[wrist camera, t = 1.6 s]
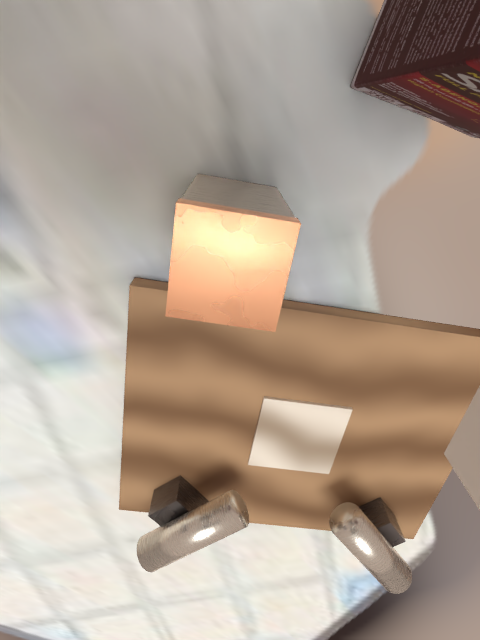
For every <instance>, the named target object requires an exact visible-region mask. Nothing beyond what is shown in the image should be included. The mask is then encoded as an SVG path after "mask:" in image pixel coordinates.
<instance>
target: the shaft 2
mask: <svg viewBox="0 0 480 640" xmlns="http://www.w3.org/2000/svg"><path fill="white" fill-rule="evenodd" d="M329 525H330V529H331V531H332V532H333V533H334V534H335V536H336V537H337V538H338V539H339V540H340V541H341V542H342V543H343V544H344V545H345V546H346V547H347V548H348V549H349V550H350V552H351V553H352V554H353V555H354V556H355V557H356V558H357V559H358V560H359V561H360V562H361V563H362V564H363V565H364V566H365V568H366V569H367V570H368V571H369V572H370V573H371V574H372V575H373V576H374V577H375V578H376V579H377V580H378V581H379V582H380V583H381V585H382V586H383V587H384V588H385V589H386V590H387V591H389V592H391V593H394V594H399V593H403V592H404V591H406V590H407V589H408V588H409V586H410V584H411V581H412V572H411V569H410V567H409V566H408V564H407V563H406V562H405V561H404V560H403V558H402V557H401V556H400V555H399V554H398V553H397V551H396V550H395V549H394V548H393V547H394V546H396V545H398V544H401V543H403V542H406V541H405V539H404V536H403V534H402V531H401V529H400V526H399V524H398V522H397V519H396V517H395V515H394V513H393V512H392V511H391V510H390V508H389V507H388V506H387V505H386V503H385V502H384V501H383V500H382V498H381V497H379V498H376V499H374V500H372V501H370V502H368V503H366V504H363V505H361V506H359V507H358V506H357V505H356V504H354V503H350V502H346V503H342V504H340V505H338V506H337V507H336V508H335V509H334V510H333V512H332V513H331V516H330V520H329Z"/></svg>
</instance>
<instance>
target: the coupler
mask: <svg viewBox="0 0 480 640" xmlns="http://www.w3.org/2000/svg"><path fill="white" fill-rule="evenodd" d="M300 225H301V223H300V221H299V220H298V218H295V216H294V215H293V213H292V212H291V210H290V208H289V207H288V205H287V203H286V202H285V200H284V199H283V197H282V195H281V194H280V192H279V190H278V189H277V187H273V186H267V185H261V184H255V183H250V182H244V181H238V180H232V179H227V178H221V177H215V176H209V175H204V174H197V175H196V177H195V178H194V180H193V181H192V183H191V184H190V186H189V187H188V189H187V190H186V192H185V193H184V195H183V196H182V198H179V199H178V200H177V202H176V208H175V218H174V229H173V240H172V250H171V261H170V272H169V282H168V293H167V304H166V314H165V316H166V317H173V318H180V319H187V320H194V321H201V322H208V323H215V324H222V325H229V326H236V327H243V328H250V329H257V330H264V331H271V332H276V327H277V323H278V319H279V315H280V310H281V306H282V302H283V298H284V293H285V289H286V285H287V281H288V276H289V272H290V268H291V264H292V259H293V255H294V251H295V247H296V242H297V238H298V234H299V230H300Z"/></svg>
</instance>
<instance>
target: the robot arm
mask: <svg viewBox="0 0 480 640" xmlns="http://www.w3.org/2000/svg"><path fill="white" fill-rule="evenodd" d="M444 455H445V456H446V458H447V460H448V461H449V463H450V464H451V466H452V468H453V469H454V471H455V472H456V474H457V475H458V477H459V478H460V480H461V482H462V483H463V485H464V487H465V488H466V490H467V491H468V493H469V494H470V496H471V498H472V499H473V501H474V503H475V504H476V506H477V507H478V509H479V510H480V386H479V388H478V390H477V392H476V394H475V395H474V397H473V399H472V401H471V403H470V405H469V407H468V409H467V411H466V413H465V415H464V416H463V418H462V420H461V422H460V424H459V426H458V428H457V430H456V432H455V434H454V435H453V437H452V439H451V441H450V443H449V445H448V447H447V449H446V451H445V453H444Z"/></svg>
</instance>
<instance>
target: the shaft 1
mask: <svg viewBox="0 0 480 640" xmlns="http://www.w3.org/2000/svg"><path fill="white" fill-rule="evenodd" d="M148 516H149V517H150V518H151V519H153V520H154V521H155V522H156V523H158V524H159V525H160V527H159V528H157V529H155V530H153V531H151V532H149V533H147V534H145V535H143V536H142V537H141V538H140V539H139V541H138V544H137V556H138V560H139V562H140V564H141V566H142V567H143V568H144V569H145V570H146V571H148V572H154V571H156V570H158V569H160V568H162V567H164V566H167V565H169V564H171V563H173V562H175V561H177V560H179V559H181V558H183V557H185V556H187V555H189V554H191V553H194V552H196V551H198V550H200V549H202V548H204V547H206V546H208V545H210V544H212V543H214V542H216V541H219V540H221V539H223V538H225V537H227V536H229V535H231V534H233V533H235V532H237V531H239V530H241V529H243V528H246V527H247V526H248V524H249V514H248V509H247V506H246V504H245V502H244V500H243V498H242V497H241V495H240V494H239V493H238V492H237V491H235V490H230V491H228V492H226V493H225V494H223V495H221V496H219V497H217V498H215V499H213V500H211V501H208V500H207V499H206V498H205V497H204V496H203V495H202V494H201V493H200V492H199V491H198V490H196V489H195V488H194V487H193V486H192V485H191V484H190V483H189V482H188V481H187V480H185V479H184V478H183V477H182V476H181V475H180V476H178V477H176V478H174V479H172V480H170V481H169V482H167V483H165V484H163V485H161V486H159V487H158V488H156V489H154V491H153V496H152V501H151V505H150V510H149V515H148Z"/></svg>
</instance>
